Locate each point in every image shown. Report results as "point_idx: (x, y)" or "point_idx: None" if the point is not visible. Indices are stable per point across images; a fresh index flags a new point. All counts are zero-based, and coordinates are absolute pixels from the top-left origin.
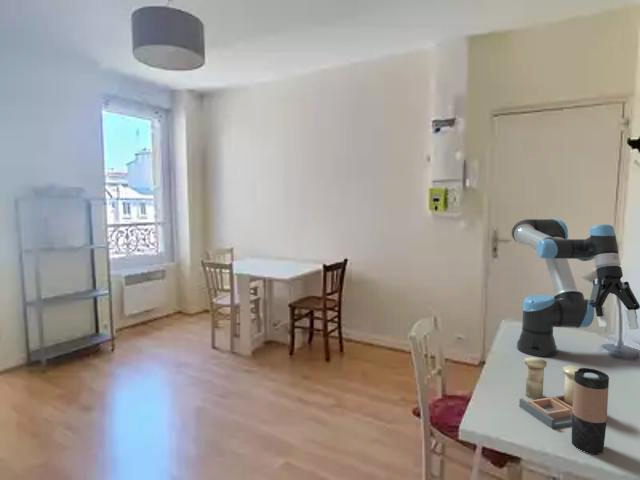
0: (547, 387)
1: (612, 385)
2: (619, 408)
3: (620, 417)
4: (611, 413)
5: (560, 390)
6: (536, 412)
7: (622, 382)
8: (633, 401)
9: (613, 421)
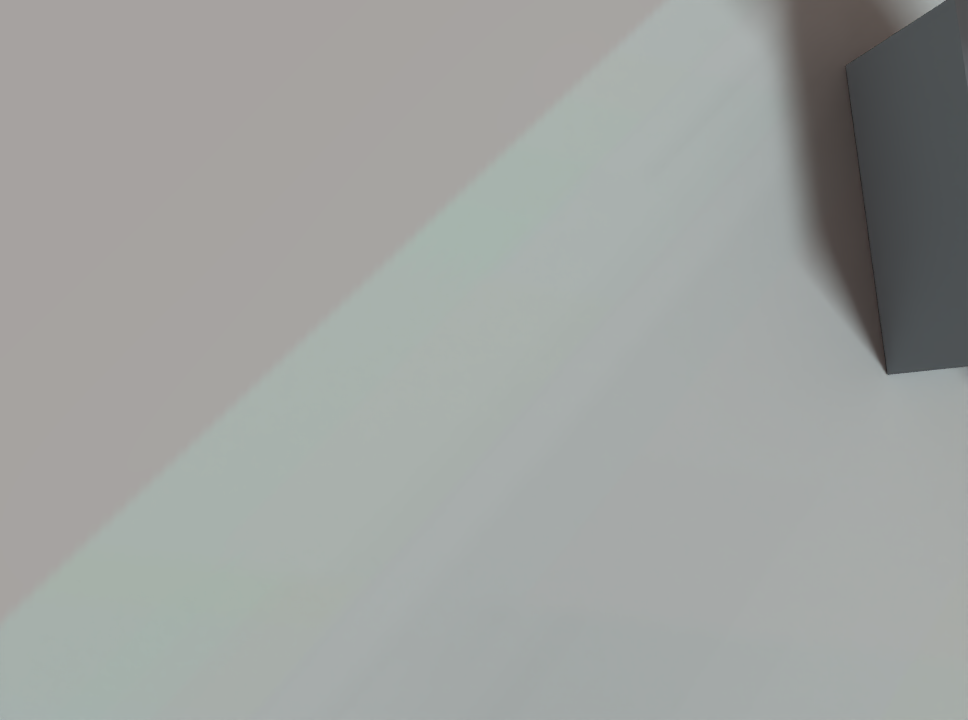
0: (925, 583)
1: (351, 541)
2: (636, 161)
3: (729, 56)
4: (747, 116)
5: (862, 516)
6: None
7: (186, 592)
8: (431, 230)
9: (812, 27)
